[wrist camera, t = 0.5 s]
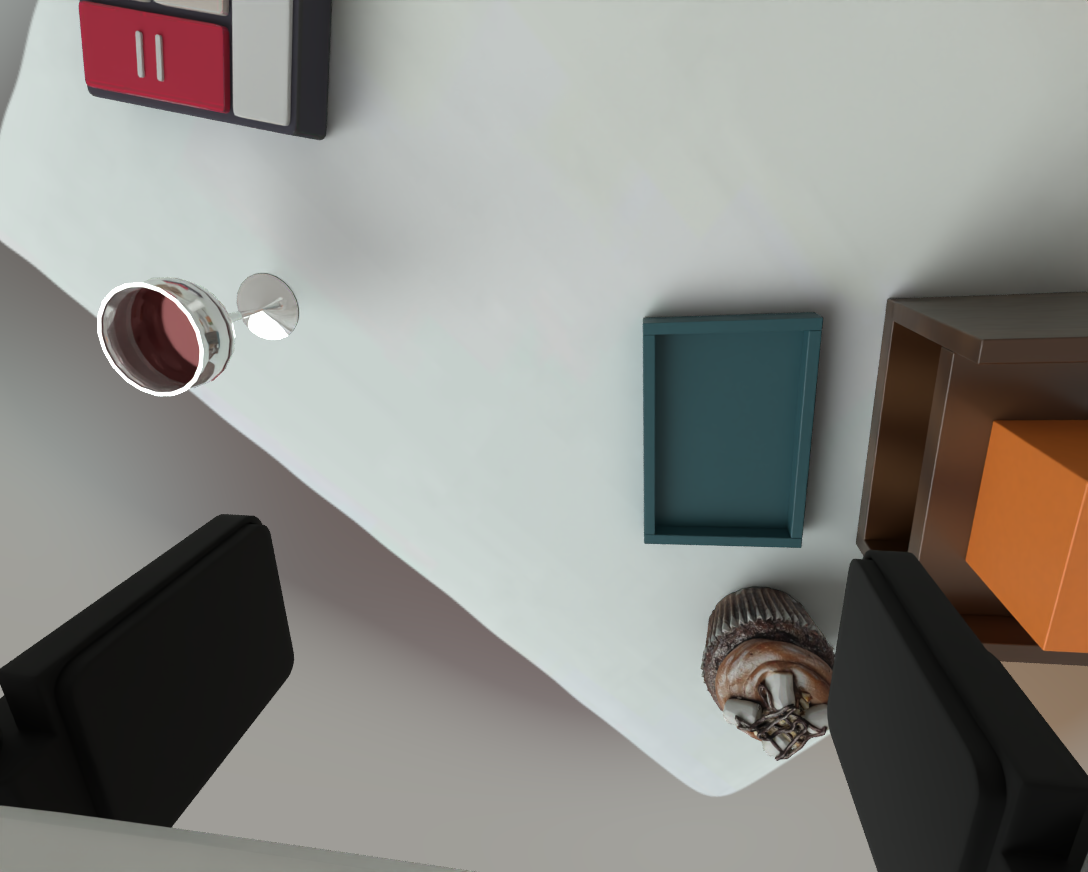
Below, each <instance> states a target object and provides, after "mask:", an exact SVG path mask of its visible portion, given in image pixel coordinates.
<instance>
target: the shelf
mask: <svg viewBox="0 0 1088 872" xmlns="http://www.w3.org/2000/svg"><path fill="white" fill-rule="evenodd" d="M995 420H1088V292H1063V293H1035V294H1007V295H979V296H951V297H923V298H895V299H888V300H887V306H886V314H885V322H884V330H883V337H882V345H881V353H880V361H879V368H878V376H877V384H876V392H875V399H874V407H873V415H872V423H871V430H870V438H869V446H868V454H867V461H866V469H865V477H864V485H863V492H862V500H861V508H860V516H859V523H858V531H857V539H856V544H857V546H858V548H859V549H860V551H861V553H862V554H863V556H864V554H865V552H867V551H868V550H879V551H897V552H911V553H913V554H914V555H915V556H916V558H917V559H918V560H919V561H920V563H921V564H922V565H923V567H924V568H925V569H926V571H927V572H928V573H929V575H930V576H931V577H932V579H933V580H934V581H935V582H936V584H937V585H938V586H939V588H940V589H941V590H942V592H943V593H944V594H945V596H946V597H947V598H948V600H949V601H950V602H951V603H952V605H953V606H954V607H955V609H956V610H957V611H958V613H959V614H960V615H961V617H962V618H963V619H964V621H965V622H966V623H967V625H968V626H969V627H970V628H971V630H972V631H973V632H974V634H975V635H976V636H977V638H978V639H979V640H980V642H981V643H982V644H983V646H984V647H985V648H986V649H987V651H989V652H991V653H992V654H993V655H994V656H995V657H996V658H997V659H998V660H999V661H1006V662H1024V663H1044V664H1062V665H1081V666H1088V653H1079V652H1059V651H1044V650H1042V649H1041V647H1040V646H1039V645H1038V644H1037V643H1036V642H1035V641H1034V639H1033V638H1032V637H1031V636H1030V635H1029V634H1028V632H1027V631H1026V630H1025V629H1024V628H1023V627H1022V626H1021V624H1020V623H1019V622H1018V621H1017V620H1016V619H1015V617H1014V616H1013V615H1012V614H1011V613H1010V612H1009V611H1008V609H1007V608H1006V607H1005V606H1004V605H1003V604H1002V602H1001V601H1000V600H999V599H998V598H997V597H996V596H995V594H994V593H993V592H992V591H991V590H990V589H989V587H988V586H987V585H986V584H985V583H984V582H983V581H982V579H981V578H980V577H979V576H978V575H977V574H976V573H975V571H974V570H973V569H972V568H971V567H970V566H969V564H968V563H967V562H966V555H967V550H968V545H969V540H970V535H971V530H972V525H973V520H974V515H975V510H976V505H977V500H978V495H979V490H980V485H981V480H982V475H983V470H984V465H985V460H986V455H987V450H988V445H989V440H990V435H991V430H992V425H993V421H995Z"/></svg>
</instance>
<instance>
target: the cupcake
mask: <svg viewBox="0 0 1088 872" xmlns="http://www.w3.org/2000/svg"><path fill="white" fill-rule="evenodd" d="M833 649H834V648H833V647H832V646H831V645H830V644H829V642H828V641H827V640H826V638H825V636H824V635H823V634H822V632H821V631H820V630H819V628H818V627H817V626H816V624H815V623H814V622H813V620H812V619H811V618H810V616H809V615H808V613H807V612H806V611H805V609H804V608H803V607H802V605H801V604H800V603H798V602H797V601H795V600H794V599H793V598H792V597H791V596H789V595H788V594H786V593H784V592H782V591H779V590H775V589H772V588H768V587H751V588H744V589H741V590H739V591H737V592H735V593H731V594H729V595H727V596H726V597H724V598H723V599H722V600H721V601H720V602H719V603H718V604H717V605H716V608H715V610H714V611H712V614H711V616H710V618H709V623H708V632H707V638H706V646H705V650H704V652H703V658H702V665H701V669H702V670H703V672H702V677H704V683H706V685H707V688H708V689H707V691H709V692H710V693H711V696H712V697H713V700H714V701H715V702H716V704H717V705H718V707H719V708H720V710H721V711H723V717H724V718H725V720H726V721H727V722H728V723H729V724H733V725H736V726H737V728H738V729H740V730H742V731H743V732H745V733H746V734H748V735H749V736H751V737H752V738H755V739H757V740H759V741H762V745H763V749H764V751H765V752H766V753H767V754H768V755H769V756H772V757H775V759H776V761H778V760H780V759H788V758H789V757H791V756H792V755H793V754H794V753H796V752H797V751H799V750H800V749H801V748H803V746H804V745H805V744H806V742H807V741H808V740H809V739H810V738H813V737H818V736H822V735H825V733H826V731H827V730H829V726H828V719H827V703H828V697H829V690H830V684H831V678H832V672H833V665H834V657H835V654H834V653H833ZM793 747H794V748H793ZM791 748H793V750H792V749H791Z"/></svg>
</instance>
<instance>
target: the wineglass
mask: <svg viewBox="0 0 1088 872" xmlns="http://www.w3.org/2000/svg"><path fill="white" fill-rule="evenodd" d="M237 306H238V311H237V312H233V313H228V312H227V310H226V308H225V307H224V306H223V304H222V303H221V302H220V301H219V300H218V299H217V298H216V296H215V295H214V294H212V293H211V292H209V291H208V290H206V289H205V288H203V287H202V286H200V285H198V284H195V283H192V282H189V281H186V280H183V279H180V278H169V277H166V278H151V279H149V280H146V281H144V282H142V283H126V284H124V285H122V286H119V287H117V288H115V289H113V290H112V291H111V292H110V293H109V294H108V295H107V296H106V298H105V299H104V300H103V301H102V304H101V307H100V310H99V313H98V335H99V338H100V342H101V345H102V348H103V351H104V353H105V355H106V356H107V358H108V360H109V361H110V363H111V365H112V367H113V368H114V369H115V370H116V371H117V372H118V373H119V374H120V375H121V376H122V377H123V378H124V379H125V380H126V381H127V382H129V383H130V384H132V385H133V386H135V387H136V388H138V389H139V390H141V391H144V392H147V393H150V394H153V395H157V396H173V395H176V394H179V393H181V392H184V391H186V390H187V389H188V388H194V387H198V386H200V385H203V384H206V383H208V382H210V381H213V380H214V379H215V378H216V377H217V376H218V375H220V374H221V373H222V372H223V371H224V370H225V369H226V367H227V365H228V363H229V361H230V359H231V357H232V354H233V352H234V347H235V332H234V328H233V322H235V321H238V320H241V319H242V320H243V322H244V323H245V325H246V326H247V327H248V328H249V329H250V330H251V331H252V332H253V333H255V334H256V335H258V336H259V337H262V338H265V339H269V340H279V339H281V338H284V337H286V336H288V335H289V334H290V333H291V332H292V331H293V330H294V328H295V326H296V324H297V321H298V306H297V301H296V299H295V297H294V295H293V293H292V291H291V290H290V289H289V288H288V286H287V285H286V284H285V283H284V282H282V281H281V280H280V279H278V278H277V277H275V276H272V275H268V274H255V275H252V276H250V277H248V278H247V279H246V280H245V281H244V282H243V283H242V284H241V286H240V288H239V290H238V293H237Z"/></svg>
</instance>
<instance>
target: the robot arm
mask: <svg viewBox="0 0 1088 872" xmlns="http://www.w3.org/2000/svg"><path fill="white" fill-rule="evenodd" d="M293 663H294V652H293V647H292V642H291V637H290V632H289V627H288V621H287V616H286V611H285V606H284V601H283V596H282V591H281V585H280V580H279V575H278V570H277V565H276V560H275V554H274V549H273V544H272V539H271V534H270V531H269V529H268V528H267V526H265V525H262V523H261V521H260V520H259V519H258V518H257V517H255V516H247V515H246V516H245V515H229V514H221V515H219V516H216V517H215V518H213V519H212V520H211V521H209V522H208V523H206V524H205V525H204V526H202V527H201V528H199V529H198V530H196V531H195V532H194V533H192V534H191V535H189V536H188V537H186V538H185V539H184V540H182V541H181V542H179V543H178V544H177V545H175V546H174V547H172V548H171V549H169V550H168V551H167V552H165V553H164V554H162V555H161V556H159V557H158V558H157V559H155V560H154V561H152V562H151V563H150V564H148V565H147V566H145V567H144V568H142V569H141V570H140V571H138V572H137V573H135V574H134V575H132V576H131V577H130V578H128V579H127V580H125V581H124V582H122V583H121V584H120V585H118V586H117V587H115V588H114V589H113V590H111V591H110V592H108V593H107V594H105V595H104V596H103V597H101V598H100V599H98V600H97V601H96V602H94V603H93V604H91V605H90V606H89V607H87V608H86V609H84V610H83V611H82V612H80V613H78V614H77V615H76V616H74V617H73V618H71V619H70V620H69V621H67V622H66V623H64V624H63V625H61V626H60V627H59V628H57V629H56V630H55V631H53V632H51V633H50V634H49V635H47V636H46V637H44V638H43V639H42V640H40V641H39V642H37V643H36V644H34V645H33V646H32V647H30V648H29V649H28V650H26V651H24V652H23V653H22V654H20V655H19V656H17V657H16V658H15V659H14V660H12V661H10V662H9V663H8V664H6V665H5V666H3V667H2V668H0V685H1V688H2V690H3V693H4V696H3V697H2V698H0V872H475V871H468V870H461V869H455V868H448V867H441V866H434V865H427V864H420V863H414V862H407V861H400V860H393V859H386V858H378V857H373V856H366V855H359V854H351V853H345V852H337V851H331V850H324V849H317V848H310V847H303V846H296V845H290V844H283V843H276V842H269V841H262V840H255V839H248V838H240V837H233V836H226V835H219V834H212V833H205V832H198V831H190V830H182V829H176V828H171V827H172V826H173V825H174V823H175V822H176V821H177V820H178V818H179V817H180V816H181V814H182V813H183V812H184V811H185V809H186V808H187V807H188V805H189V804H190V803H191V802H192V800H193V799H194V798H195V796H196V795H197V794H198V793H199V791H200V790H201V789H202V787H203V786H204V785H205V784H206V782H207V781H208V780H209V778H210V777H211V776H212V775H213V773H214V772H215V771H216V769H217V768H218V767H219V766H220V764H221V763H222V762H223V760H224V759H225V758H226V756H227V755H228V754H229V753H230V751H231V750H232V749H233V747H234V746H235V745H236V744H237V742H238V741H239V740H240V738H241V737H242V736H243V734H244V733H245V732H246V731H247V729H248V728H249V727H250V726H251V724H252V723H253V722H254V721H255V719H256V718H257V717H258V715H259V714H260V713H261V711H262V710H263V709H264V708H265V706H266V705H267V704H268V703H269V701H270V700H271V699H272V697H273V696H274V695H275V694H276V692H277V691H278V690H279V688H280V687H281V686H282V685H283V683H284V682H285V681H286V679H287V678H288V677H289V675H290V673H291V670H292V667H293ZM827 719H828V726H829V730H830V733H831V736H832V739H833V742H834V745H835V748H836V751H837V754H838V757H839V760H840V763H841V766H842V769H843V771H844V774H845V777H846V780H847V783H848V786H849V789H850V792H851V795H852V798H853V801H854V804H855V806H856V810H857V812H858V815H859V818H860V821H861V824H862V827H863V830H864V833H865V836H866V839H867V842H868V844H869V848H870V850H871V853H872V856H873V859H874V862H875V865H876V868H877V871H878V872H1088V775H1087V774H1086V773H1085V771H1084V770H1083V769H1082V767H1081V766H1080V765H1079V763H1078V762H1077V761H1076V760H1075V758H1074V757H1073V756H1072V754H1071V753H1070V752H1069V751H1068V749H1067V748H1066V747H1065V745H1064V744H1063V743H1062V742H1061V740H1060V739H1059V737H1058V736H1057V735H1056V734H1055V732H1054V731H1053V730H1052V728H1051V727H1050V726H1049V725H1048V723H1047V722H1046V721H1045V719H1044V718H1043V717H1042V715H1041V714H1040V713H1039V712H1038V710H1037V709H1036V708H1035V706H1034V705H1033V704H1032V702H1031V701H1030V700H1029V699H1028V697H1027V696H1026V695H1025V693H1024V692H1023V691H1022V690H1021V688H1020V687H1019V686H1018V684H1017V683H1016V682H1015V680H1014V679H1013V678H1012V677H1011V675H1010V674H1009V673H1008V671H1007V670H1006V669H1005V668H1004V667H1003V665H1002V664H1001V662H1000V661H999V660H998V659H997V658H996V657H995V656H994V655H993V654H992V653H991V652H989V651H987V649H986V648H985V647H984V646H983V644H982V643H981V642H980V640H979V639H978V638H977V636H976V635H975V634H974V632H973V631H972V630H971V628H970V627H969V626H968V625H967V623H966V622H965V621H964V619H963V618H962V617H961V615H960V614H959V613H958V611H957V610H956V609H955V607H954V606H953V605H952V603H951V602H950V601H949V600H948V598H947V597H946V596H945V594H944V593H943V592H942V590H941V589H940V588H939V586H938V585H937V584H936V582H935V581H934V580H933V579H932V577H931V576H930V575H929V573H928V572H927V571H926V569H925V568H924V567H923V565H922V564H921V563H920V561H919V560H918V559H917V558H916V556H915V555H914V554H913V553H911V552H897V551H879V550H868V551H867V552H865V554H864V556H863V559H853V560H852V561H851V563H850V566H849V571H848V577H847V584H846V590H845V596H844V603H843V609H842V615H841V621H840V628H839V634H838V640H837V646H836V653H835V659H834V665H833V672H832V678H831V684H830V690H829V697H828V703H827Z"/></svg>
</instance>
